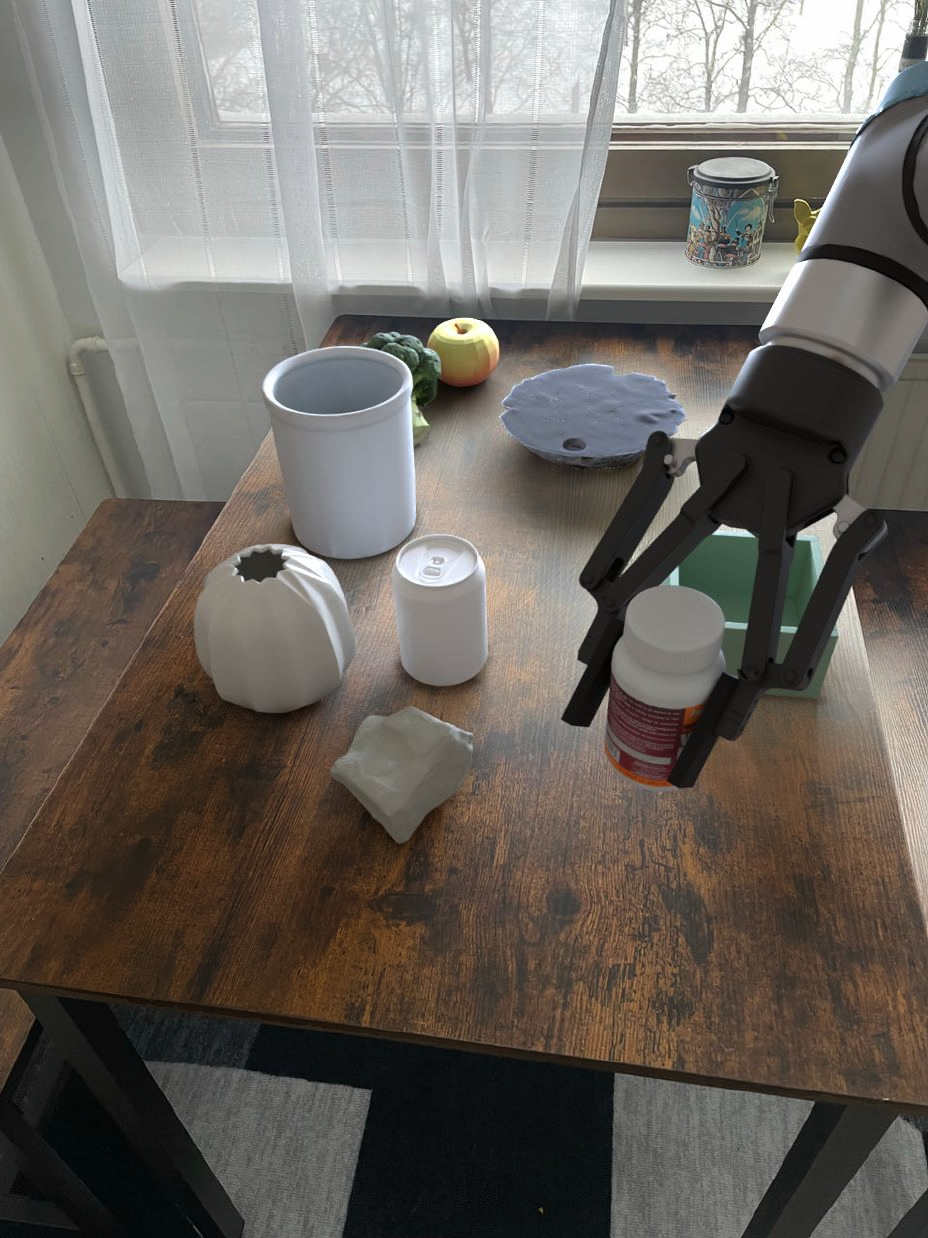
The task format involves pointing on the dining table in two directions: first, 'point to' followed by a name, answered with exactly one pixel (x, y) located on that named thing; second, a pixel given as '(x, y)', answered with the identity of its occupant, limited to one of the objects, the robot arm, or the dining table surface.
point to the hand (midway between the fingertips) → (626, 752)
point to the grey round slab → (590, 415)
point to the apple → (465, 351)
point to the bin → (729, 581)
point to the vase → (273, 628)
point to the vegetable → (413, 373)
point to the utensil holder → (345, 448)
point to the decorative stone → (405, 767)
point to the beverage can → (440, 609)
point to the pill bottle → (661, 681)
